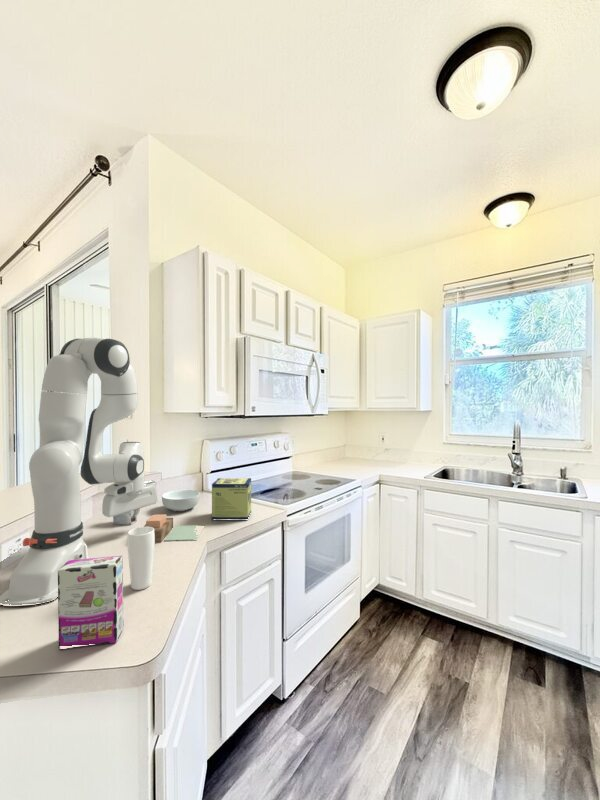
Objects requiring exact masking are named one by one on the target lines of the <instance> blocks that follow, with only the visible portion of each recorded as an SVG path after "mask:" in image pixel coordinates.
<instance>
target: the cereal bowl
mask: <svg viewBox="0 0 600 800" xmlns="http://www.w3.org/2000/svg"><path fill="white" fill-rule="evenodd" d="M200 498H201V493H200V491H198V490H194V489H176V490H171V491H166V492H164V493H163V494H162V495H161V501H162V505H163V506H164V508H166V509H168V510H171V511H173V512H176V511H181V512H186V511H188V509H189V510H190V509H192V508H194V507H195V506H197V505H198V503H200ZM185 510H186V511H185Z"/></svg>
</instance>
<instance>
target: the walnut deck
mask: <svg viewBox="0 0 600 800" xmlns="http://www.w3.org/2000/svg"><path fill="white" fill-rule="evenodd" d="M145 526H146V524H144V525H143V527H145ZM172 528H173V529H174V517H166V522H165V523H164V524H163V525H162V526H161V527H160V528H154V532H155V543H162V542H163V541H164V540H165V538H166V537H167V536H168V535H169V534H170V532H171V531H172V530H173V529H172Z"/></svg>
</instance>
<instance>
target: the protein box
mask: <svg viewBox="0 0 600 800" xmlns="http://www.w3.org/2000/svg"><path fill="white" fill-rule="evenodd" d="M250 513H252V478H250V477H245V478H244V477H243V478H242V477H241V478H240V477H239V478H238V477H237V478H234V477H233V478H231V477H230V478H229V477H227V478H225V477H224V478H222V477H221V478H220V477H219V478H217V479H216V480H215V481H214V482H213V483H211V520H212V519H248V517H249V518H250V516H251V514H250ZM249 515H250V516H249ZM248 520H249V519H248Z"/></svg>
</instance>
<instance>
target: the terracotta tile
mask: <svg viewBox="0 0 600 800" xmlns="http://www.w3.org/2000/svg"><path fill="white" fill-rule="evenodd" d="M166 518H167V514H165V513H164V514H152V515H151V516H150V517H148V519H146V520H145V525H146V526H148V527H153V528H160V527H161V526H162V525H163V524H164V523H165V522H166Z"/></svg>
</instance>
